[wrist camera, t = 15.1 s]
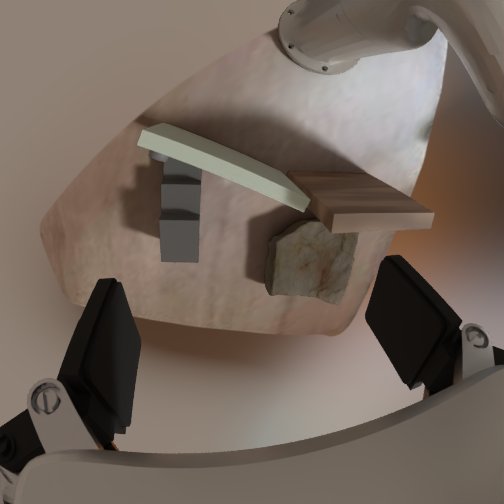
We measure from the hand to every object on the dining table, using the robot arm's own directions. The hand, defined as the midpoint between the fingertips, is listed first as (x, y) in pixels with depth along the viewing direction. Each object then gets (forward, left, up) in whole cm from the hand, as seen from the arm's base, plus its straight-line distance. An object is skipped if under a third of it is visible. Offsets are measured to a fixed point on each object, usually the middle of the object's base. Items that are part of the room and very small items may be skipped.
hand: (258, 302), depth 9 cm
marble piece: (+18, +14, -31) cm, 38 cm away
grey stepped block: (+6, -5, -30) cm, 31 cm away
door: (0, 0, -30) cm, 30 cm away
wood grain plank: (+4, +16, -30) cm, 35 cm away
